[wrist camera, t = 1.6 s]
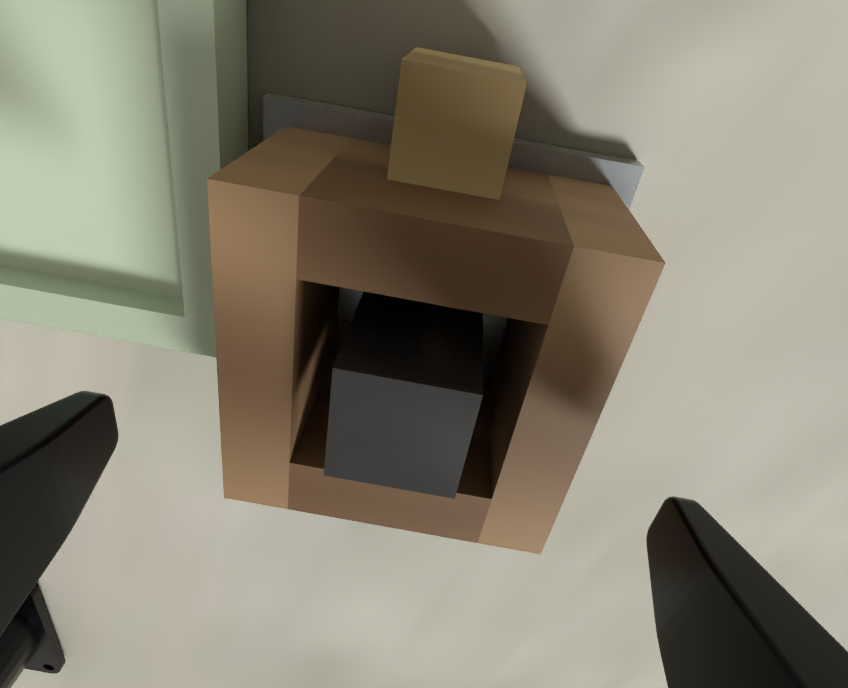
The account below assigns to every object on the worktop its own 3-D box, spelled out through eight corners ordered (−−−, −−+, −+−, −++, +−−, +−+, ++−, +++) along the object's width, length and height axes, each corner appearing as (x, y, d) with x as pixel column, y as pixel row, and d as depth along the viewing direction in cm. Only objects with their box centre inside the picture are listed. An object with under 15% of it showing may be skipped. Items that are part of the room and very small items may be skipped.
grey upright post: (539, 437, 16) (561, 614, 12) (268, 388, 16) (182, 546, 11) (638, 160, 12) (738, 265, 7) (270, 92, 12) (134, 154, 7)
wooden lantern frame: (527, 432, 16) (540, 554, 12) (280, 387, 15) (224, 497, 12) (645, 89, 11) (721, 132, 7) (288, 22, 11) (199, 36, 7)
